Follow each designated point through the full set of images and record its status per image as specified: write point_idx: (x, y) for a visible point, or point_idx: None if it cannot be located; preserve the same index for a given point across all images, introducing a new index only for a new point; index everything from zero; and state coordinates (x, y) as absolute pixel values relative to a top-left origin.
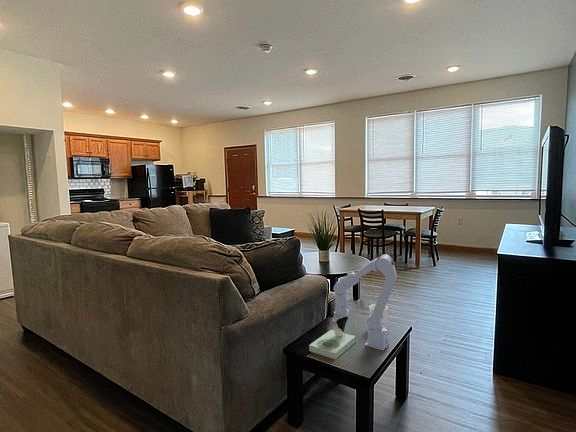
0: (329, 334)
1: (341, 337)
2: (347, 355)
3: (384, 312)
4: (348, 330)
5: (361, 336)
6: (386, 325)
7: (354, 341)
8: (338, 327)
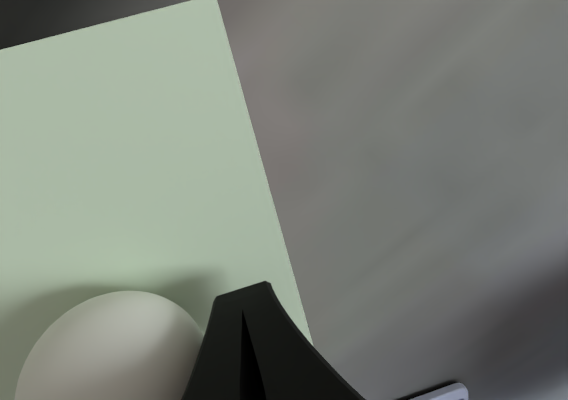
0: (10, 171)
1: None
2: None
3: None
4: (533, 78)
5: (464, 294)
6: None
7: None
8: (200, 363)
